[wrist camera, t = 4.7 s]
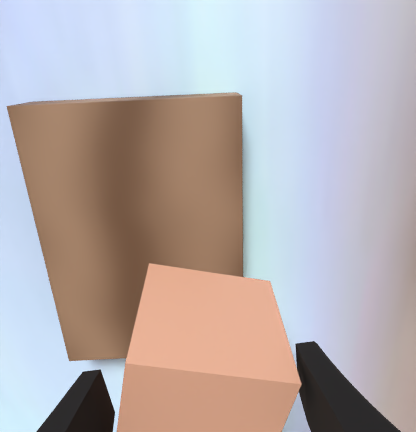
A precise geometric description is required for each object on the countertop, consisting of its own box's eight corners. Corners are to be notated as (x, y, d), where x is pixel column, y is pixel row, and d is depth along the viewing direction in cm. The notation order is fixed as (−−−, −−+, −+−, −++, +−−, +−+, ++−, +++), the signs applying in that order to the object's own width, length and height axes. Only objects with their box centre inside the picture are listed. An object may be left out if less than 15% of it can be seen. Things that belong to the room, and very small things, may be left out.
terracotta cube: (269, 281, 15) (301, 384, 10) (242, 367, 17) (258, 485, 12) (149, 263, 14) (125, 363, 10) (136, 354, 16) (111, 472, 12)
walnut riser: (236, 92, 17) (241, 95, 15) (238, 323, 23) (243, 351, 20) (32, 101, 17) (6, 106, 15) (82, 331, 23) (69, 360, 20)
